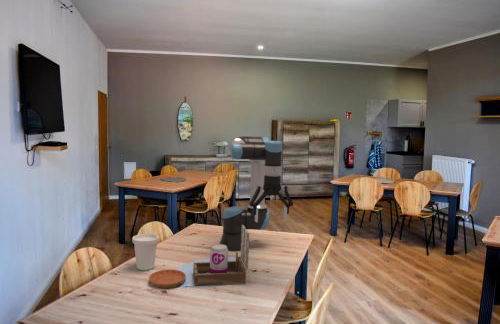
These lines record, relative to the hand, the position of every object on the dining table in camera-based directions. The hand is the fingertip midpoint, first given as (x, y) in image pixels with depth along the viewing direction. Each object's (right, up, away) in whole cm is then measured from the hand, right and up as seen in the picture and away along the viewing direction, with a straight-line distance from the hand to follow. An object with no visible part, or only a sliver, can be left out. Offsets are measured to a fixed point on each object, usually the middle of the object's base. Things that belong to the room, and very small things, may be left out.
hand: (270, 221), depth 171 cm
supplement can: (-24, -27, +2) cm, 36 cm away
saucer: (-46, -27, -4) cm, 54 cm away
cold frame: (-24, -27, +2) cm, 36 cm away
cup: (-60, -25, +12) cm, 66 cm away
